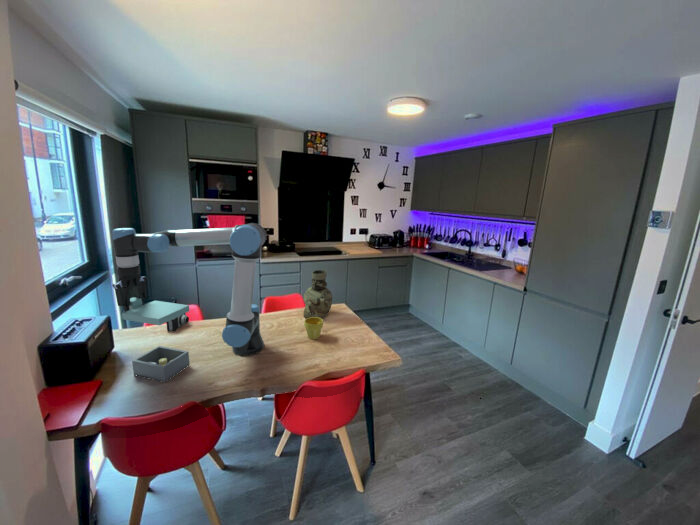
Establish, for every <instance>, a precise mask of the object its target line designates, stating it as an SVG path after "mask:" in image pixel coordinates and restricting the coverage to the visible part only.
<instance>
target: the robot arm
mask: <svg viewBox="0 0 700 525" xmlns="http://www.w3.org/2000/svg"><path fill="white" fill-rule="evenodd" d="M111 233H112V244H113V248H114V253H115V254H114V255H115V262H116V266H117V267H116V269H117V275H118V277H119V278H118V279H119V280H118V282H116V283H112V287H113V289H114V292H115V298H116V303H117V306H118V307H123V312H126V311H129V310H131V309H132V306H130V298H131V291H132V290H133V293H134V295H135V296H134V297H135V298H141V299H142V305H145V304H144V302H146V299H148V287H147V279H148V277H147V276H141V266H140V259H139V253H156V254H157V253H166V252H167V251H168V249H169V248H174V247H175V248H176V247H189V246H190V247H191V246H192V247H193V246H194V247H195V246H215V245H216V246H217V245H229V246H230V248H231V257H232V258H233V259H234V268H233V269H234V270H233V279H232V281H233V283H232V291H231V292H232V294H231V303H230V311H229V312H228V313H227V314H226V318H225V319H226V320H225V326H224V328H223V330H222V332H221V338H222V340H223V342H224V343H226V345H228V347H232V348H231V349H232V353H233V354H235V355H236V356H237V355H238V356H242V357H243V356H244V357H245V356H251V355H255V354H257V353H260V352H261V351H262V350H263V349H264V347H265V344H264V343H265V341H264V339H263V337H262V335H261V330H260V320H261V319H260V312H261V311H260V307H259V306H258V305H257V304H253V298H254V290H255V289H254V286H255V279H256V278H255V277H256V266H257V261H259V260H261V254H262V246H263V245H264V244H265V242H266V239H267V232H266V230H265V228H264V227H263V226H262V225H260V224H259V223H254V222H250V223H245V224H235V226H233V227H213V228H194V229H193V228H192V229H191V228H189V229H188V228H187V229H165V230H162V231H161V230H160V231H157V232H153V233H137V232H136V229H135V228H133V227H120V228H119V227H118V228H114V229H112V232H111Z"/></svg>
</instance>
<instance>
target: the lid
mask: <svg viewBox="0 0 700 525" xmlns="http://www.w3.org/2000/svg"><path fill="white" fill-rule="evenodd" d="M130 306H132V309H131V310H129V311H126V312H124V311H123V312H122V313H121V318H122V320H125V321H129V322H130V321H131V322H136V323H142V324H149V325H156V326H162V325H164V324H165V323H166V322H168V321H170V320H172V319H174V318H176V317H178V316H180V315H182V314H186V313H189V312H190V305H189V304H182V303H174V302H168V301H162V300H153V301H150V302H147V303H145V304H144V305H142V299H141V298H136V297H135V296H134V297H130ZM166 324H167V323H166Z"/></svg>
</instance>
